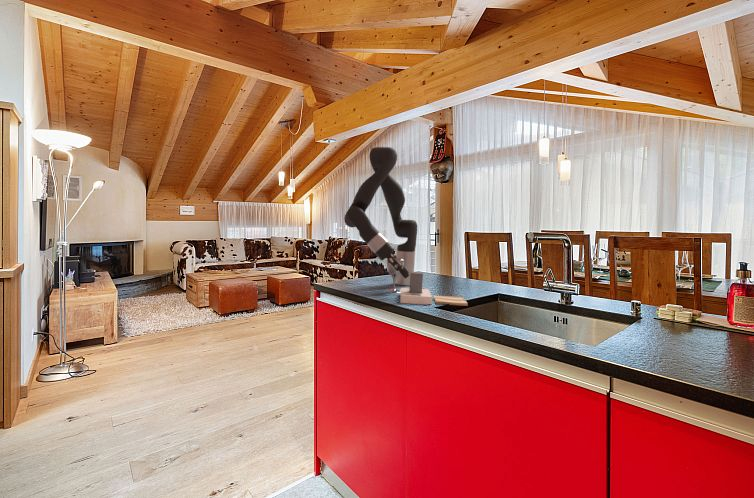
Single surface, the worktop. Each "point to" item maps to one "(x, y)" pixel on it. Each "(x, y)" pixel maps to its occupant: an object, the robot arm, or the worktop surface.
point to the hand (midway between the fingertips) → (407, 275)
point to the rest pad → (450, 300)
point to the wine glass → (394, 275)
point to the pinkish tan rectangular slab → (416, 297)
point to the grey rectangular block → (415, 282)
